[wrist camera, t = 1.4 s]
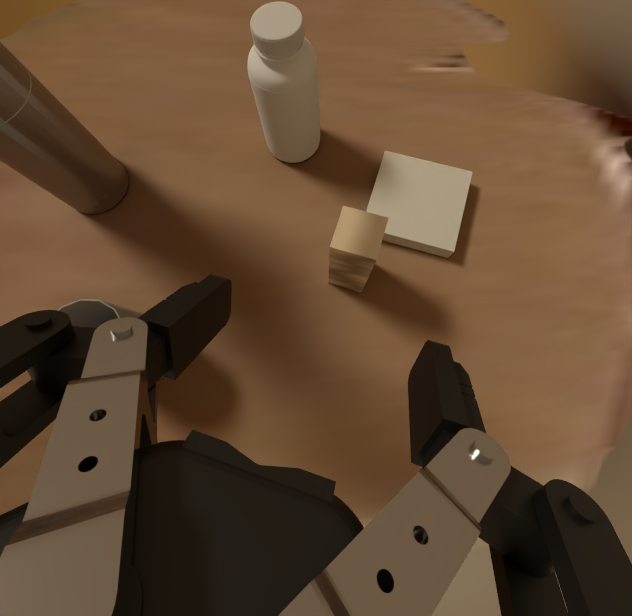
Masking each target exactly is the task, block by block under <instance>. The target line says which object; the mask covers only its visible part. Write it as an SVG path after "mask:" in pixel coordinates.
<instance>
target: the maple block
mask: <svg viewBox="0 0 632 616" xmlns="http://www.w3.org/2000/svg"><path fill="white" fill-rule="evenodd" d="M388 219H389V218H388V217H384V216H380V215H377V214H373V213H369V212H365V211H361V210H358V209H354V208H350V207H346V206H343V208H342V211H341V214H340V217H339V220H338V224H337V227H336V230H335V233H334V236H333V239H332V242H331V245H330V254H329V283H330V284H334V285H337V286H341V287H344V288H347V289H351V290H354V291H358V292H361V293H362V291H363V289H364V286H365V284H366V282H367V280H368V278H369V275H370V273H371V271H372V269H373V267H374V264H375V262H376V260H377V257H378V253H379V250H380V246H381V243H382V239H383V236H384V232H385V229H386V225H387V222H388Z"/></svg>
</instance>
